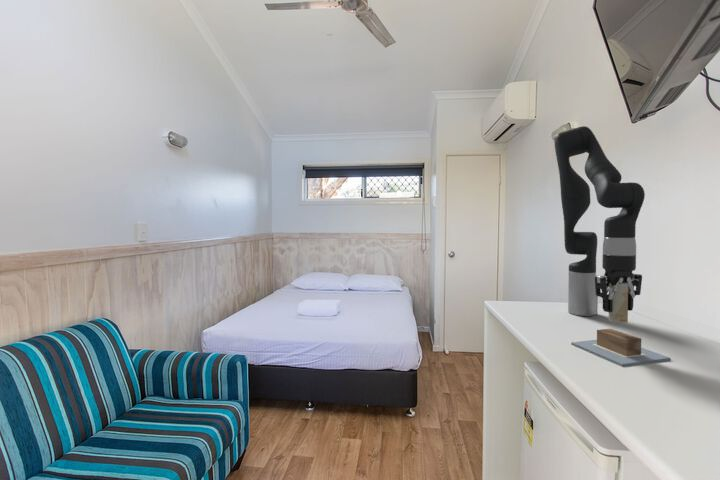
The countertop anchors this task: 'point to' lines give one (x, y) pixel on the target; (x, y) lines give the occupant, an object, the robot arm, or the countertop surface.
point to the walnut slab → (619, 342)
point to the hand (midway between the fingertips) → (617, 310)
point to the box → (620, 304)
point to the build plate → (618, 358)
